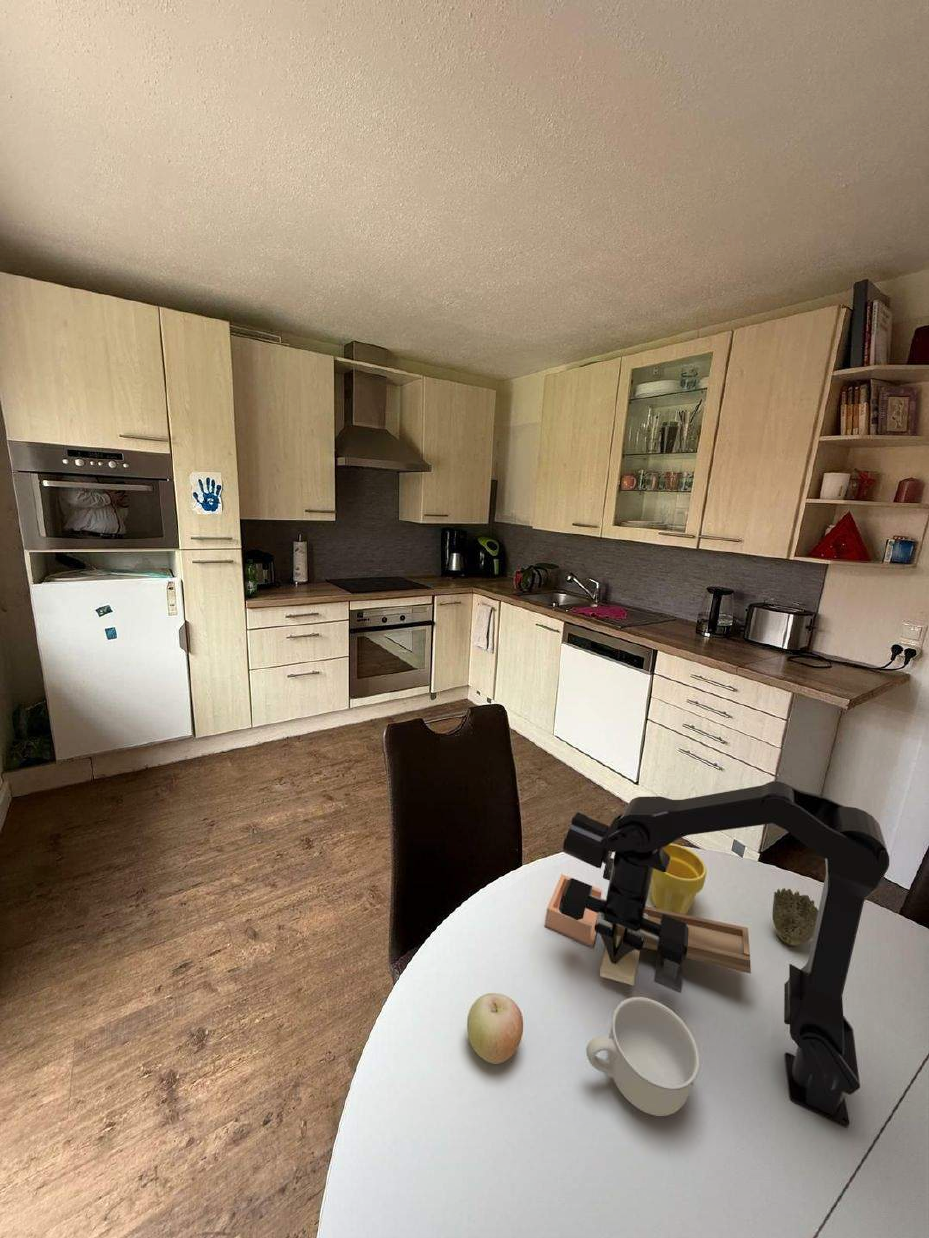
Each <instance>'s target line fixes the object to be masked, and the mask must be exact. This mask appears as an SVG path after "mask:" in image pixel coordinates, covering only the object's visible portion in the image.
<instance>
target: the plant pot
mask: <svg viewBox="0 0 929 1238" xmlns="http://www.w3.org/2000/svg"><path fill="white" fill-rule="evenodd" d="M663 850H664V851H665V852H667V854H668V855H669V856H670V858H671V859H670V862H669V865H668V868H667V871H666V872H665V873H663V872H661V871H659V870H656V869H653V874H652V878H651V883H650V896H651V897H650V898H651V902H652V903H653V905H654V906H655V908H657V909H662V910H667V911H671V910H673V911H676V912H678V913H681V914H685V915H687V913H688V911H689V910H690V908H691V905H692V903H693V901H694V899H695V897H696V895H697V894H699V893H700V892H701V891H702V890H703V888H704V885H705V882H706V877H707V876H706V875H707V867H706V864H705V862H704V861H703V860H702V858H701V857H700V856H699V855H697V854H696V853H695V852H694V851H692V850H690V849H688V848H687V847H685V846H682V845H680V844H676V843H673V842H672V843H671V844H669V845H667V846H665V847H663Z"/></svg>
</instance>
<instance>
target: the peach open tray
mask: <svg viewBox="0 0 929 1238" xmlns="http://www.w3.org/2000/svg"><path fill="white" fill-rule="evenodd" d="M571 878H572V877H569V876H568V875H565V874H561V875H560V877H559V879H558V881H557V884H556V885H555V886H556V887H555V889H554V891H553V894H552V896H551V898H550V901H549V902H548V905H547V907H546V913H545V920H544V928H547V929H548V930H551V931H553V932H556V933H558V934H560V935H562V936H564V937H567V938H569V939H572V940H573V941H576V942H578V943H580V944H583V945H585V946H588V947H589V948H593V949H594V944H595V941H596V937H597V934H598V933H597V932H595V930H594V927H595V924H596V920H597V917H596V916H597V913H596V912H594V911H591V910H589V909H587V908H585V912H584V917H583V918H582V919H580V920H575V919H573V918H571V917H569V916H566V915H564V914H562V913H561V912H560V910H559V906H560V900H561V897H562V894H563V891H564V889H565V886H566V884H567V881H568V880H569V879H571ZM591 886H592V892H591V895H594V896H596V897H599V898H601V899H602V895H603V894H602V892H603V889H601V888H598V887H596V886H594V885H591Z"/></svg>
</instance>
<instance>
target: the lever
mask: <svg viewBox="0 0 929 1238" xmlns="http://www.w3.org/2000/svg"><path fill="white" fill-rule="evenodd" d="M644 913H646V914H648V920H650V921H653V922H655V923H657V924H660V925H661V923H660V922H661V917H662V914H664V915H666V916H669V917H671V918H674V919H676V920H679V921H681V922H684V923H686V925H687V927H688V928H689V934H688V949H687V955H686V959H691V960H694V961H698V962H702V963H706V964H710V965H714V966H718V967H721V968H722V967H723V968H726V969H730V970H733V971H734V970H735V971H739V972H742V973H747V974H751V971H752V969H751V967H752V966H751V950H750V949H751V948H750V939H749V937H750V936H749V935H750V934H749V928H748V927H746V926H741V925H737V924H736V925H735V924H732V923H727V922H722V921H719V920H718V921H717V920H713V919H708V918H704V917H699V916H696V915H695V916H693V915H690V914H681V913H676V912H671V911H667V910H662V909H658V908H657V907H653V906H647V905H646V907H645V911H644ZM623 929H624V927H623V926H621V925H619V924H618V926H617V944H616V948H617V945H618V943H619V940H620V937H621V935H622V932H623ZM658 941H659V940H658ZM658 941H657V940H654V939H652V938H649V937H647V936H646V937H644V943H643V948H646V949H651V950H653V951H657V946H658ZM640 952H641V951H638V950H633V951H631V952H630V953H628V954H626V955H625V956H624V957H623V958H622V959H620V960H619V961H618V962H617V963H616V964H614V963H611V961H610V958H609V955H608V951H607V948H606V947H605V950H604V954H603V959H602V961H601V966H600V969H599V972H600V975H599V976H600V977H602V978H606V979H610V980H613V981H617V982H620V983H623V984H628V985H631V986H635V980H636V975H637V969H638V964H639V957H640Z"/></svg>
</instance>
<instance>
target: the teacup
mask: <svg viewBox="0 0 929 1238" xmlns="http://www.w3.org/2000/svg"><path fill="white" fill-rule="evenodd" d="M609 1031H610V1032H609V1035H608V1036H609V1037H608V1036H603V1035H599V1036H596V1037H593V1038H592V1039H591V1040H590V1041H589V1042H588V1043H587V1046H586V1050H585V1051H586V1056H587V1060H588V1061H589V1063H590V1065H591V1066H592V1068H594V1069H595V1070H597V1071H599V1072H602V1073H604V1074H605V1075H606V1076H607V1077H609V1078H612V1080H613V1081H614V1083H615V1085H616V1087H617V1088H618V1090H619V1091H620V1093H621V1094H622V1095H623V1097H624V1098H625V1099H626V1100H627V1101H628V1102H630V1104H632V1105H633V1106H634V1107H635V1108H637V1109H639V1110H640V1111H642V1112H644V1113H647V1114H649V1115H651V1116H656V1117H657V1116H658V1117H665V1116H669V1115H670V1116H671V1115H672V1114H674V1113H676V1112H678V1111H679V1110H680V1109H681V1108H682V1107H683V1106H684V1104H686V1101H687V1099H688V1098H689V1094H690V1093H691V1090H692V1087H693V1084H694V1082H695V1080H696V1078H697V1076H698V1073H699V1070H700V1054H699V1049H698V1045H697V1042H696V1040H695V1038H694V1036H693V1034H692V1032H691V1030H690V1029H689V1027H688V1026H687V1025H686V1024H685V1022H684V1021H683V1020H682V1018H681V1017H680V1016H678V1015H677V1014H676V1013H675V1012H674V1011H673V1010H672V1009H670V1008H669V1007H668V1006H666V1005H664V1004H663V1003H661V1002H659V1001H656V1000H654V999H652V998H649V997H648V998H647V997H643V996H634V997H629V998H626V999H624V1000H622V1001H621V1002H619V1004H618V1005H617V1006H616V1007H615V1010H614V1012H613V1013H612V1019H611V1027H610V1030H609ZM602 1051H603V1052H604V1051H606V1052H607V1053H606V1054H607V1055H606V1057H607V1059H604V1058H602V1057H599V1056H598V1054H599V1053H601V1052H602Z"/></svg>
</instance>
